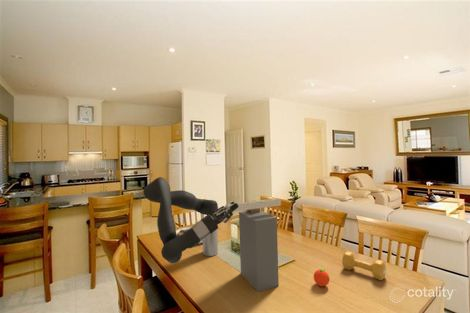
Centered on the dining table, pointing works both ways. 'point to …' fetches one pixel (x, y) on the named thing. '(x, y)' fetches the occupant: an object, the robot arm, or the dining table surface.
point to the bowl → (183, 230)
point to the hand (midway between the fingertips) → (235, 204)
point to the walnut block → (253, 210)
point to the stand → (259, 249)
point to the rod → (256, 204)
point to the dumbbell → (364, 265)
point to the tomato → (321, 277)
